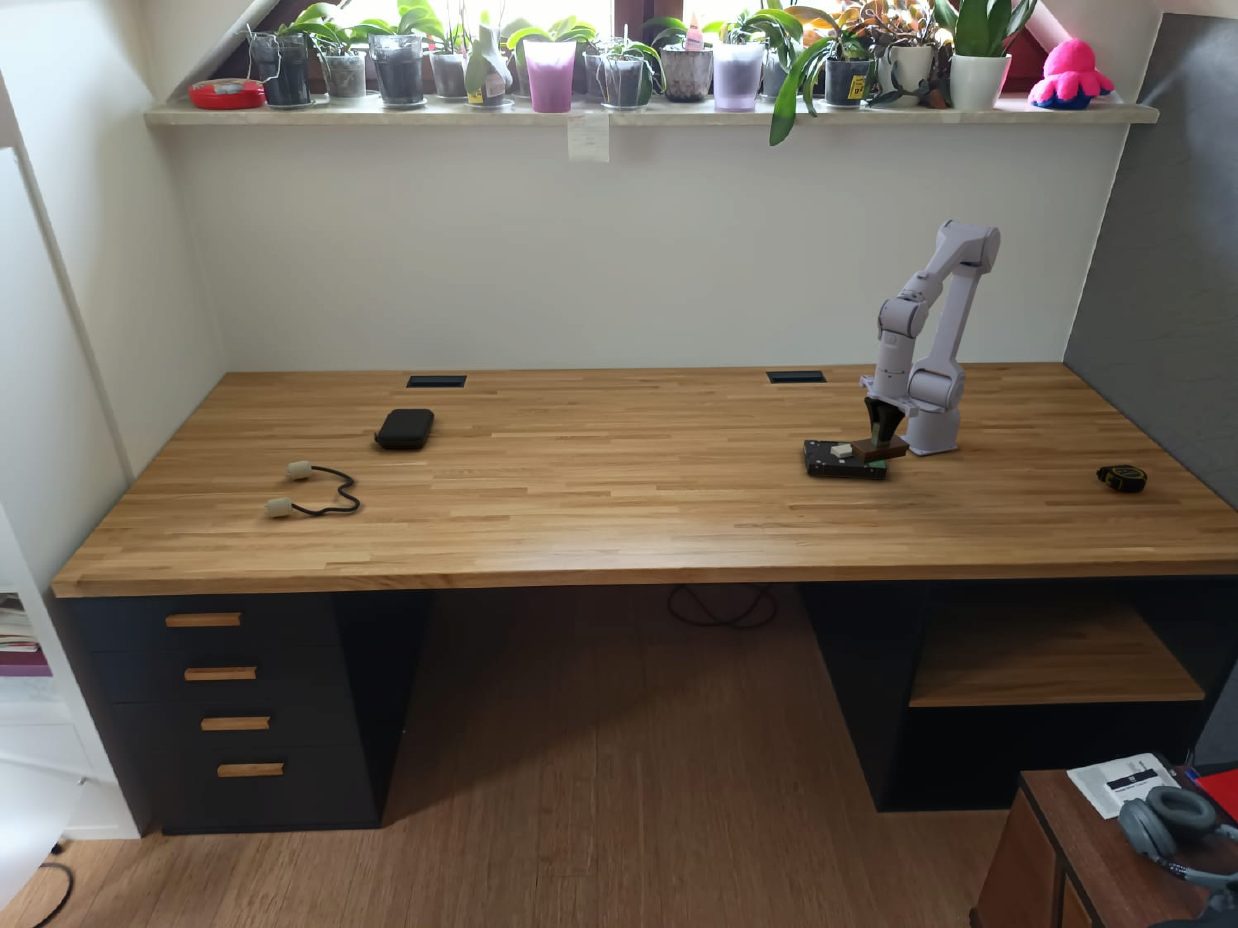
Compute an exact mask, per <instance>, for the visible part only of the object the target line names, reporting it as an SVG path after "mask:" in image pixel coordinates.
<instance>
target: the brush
mask: <svg viewBox="0 0 1238 928" xmlns="http://www.w3.org/2000/svg"><path fill="white" fill-rule="evenodd" d="M879 430H880V422H874V425H873V431H872V433H871V437H869V438H863V439H859V440H852V441H850V442H851V443H850V447H851V448H852V452H851V454H852V455H853V456H854V457H855V458H857V459H858V460H859V461H861V462H862V463H863V464H866V463H872V462H877V461H882V460H885V461H887V460H893V459H897V458H903V457H906V456H907V451H908V450H910V449H909V448H910V444H908V443H907V442H906V441H904V440H903V439H901V438H900V437H898V436H899V435H897V434H895V433H894V435H893V437H892V439H891V441H885V442H881V441H880V439H879Z"/></svg>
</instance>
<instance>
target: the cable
mask: <svg viewBox="0 0 1238 928" xmlns="http://www.w3.org/2000/svg"><path fill="white" fill-rule="evenodd" d="M285 471H287V474H286V475H285V476H286V478H287V479H289V478H291V480H293V481H294V480H299V479H304V478H311V476H312V474H313V471H320V472H325V473H330V474H333V475H336V476H338V477H341V478H344V479H345V480H347V482H346V483H343V484H341V485H340V486H338V487H337V493H338V494H339V495H340V496H342V497H343V498H345V499H347V500H350V501H351V502H353V503H355V504H354V505H353V506H351V507H332V506H331V507H325V508H322V509H320V510H310V509H307V508H304V507H302V506H299V504H298V505H297V504H295V503H294V501H293V500H292V499H291V498H290V497H286V496H285V497H279V498H272V499H269V500H268V501H267V504H265V505H264V508H267V511H264V515H265V516H269V517H270V518H276V517H277V518H278V517H284V516H291V515H292V513H293V512H294V510H296V511H299V512H301V513H304V514H306V515H311V516H321V515H323V514H325V513H327V512H328V513H329V512H331V513H332V512H335V513H350V512H356V510H358V509H359V507H360V505H361V502H360V500H359V499H358V498H356V497H355V496H352V495H350V494H348V493H346V492H345V491H343V490H344V489H346V488H348V487H350V486H352V485H353V484H354V479H353V477H351V476H350V475H348V474H346V473H343V472H342V471H339V470H336V469H334V468H333V469H332V468H329V467H323V466H317V465H312V464H311V462H310V461H309V460H301V461H295V462H290V463H288V467H287V468H285Z"/></svg>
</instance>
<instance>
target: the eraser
mask: <svg viewBox="0 0 1238 928" xmlns="http://www.w3.org/2000/svg"><path fill="white" fill-rule="evenodd" d="M831 452H832V453H833V454H835V455H836V456H837V457H838V458H844V457H849V456H853V455H852V454H851V452H852V448H851V447H850V444H846V445H840V446H835V447H831Z"/></svg>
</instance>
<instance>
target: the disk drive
mask: <svg viewBox="0 0 1238 928" xmlns="http://www.w3.org/2000/svg"><path fill="white" fill-rule="evenodd" d="M851 442H852V441H835V440H819V439H804V441H803V448H802V450H803V457H804V463H805V469H806V474H807V475H810V476H821V477H822V476H823V477H838V478H839V477H840V478H853V479H854V478H855V479H872V480H873V479H876V480H883V479H884V480H886V479H887V475H888V469H889V467H888V464H887V460H882V461H877V462H872V463H866V464H863V463H862V462H861V461H859V460H858V459H857V458H855V457H854V456H849V457H844V458H838V457H837V456H836V455H835V454H833V453H832V452H831V447H835V446H840V445H846V444H850V443H851Z"/></svg>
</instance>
